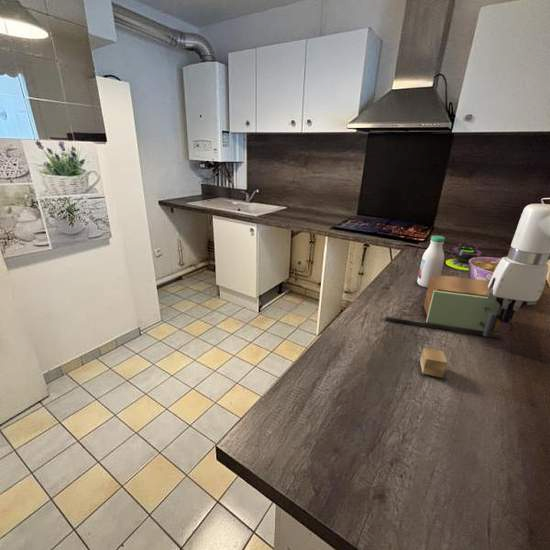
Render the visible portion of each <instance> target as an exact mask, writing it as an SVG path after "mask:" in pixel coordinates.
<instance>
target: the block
mask: <svg viewBox="0 0 550 550" xmlns="http://www.w3.org/2000/svg"><path fill="white" fill-rule="evenodd" d="M419 363H420V369H421V374H422V375H427V376H432V377H437V378H444V376H445V373H446V369H447V365H448V361H447V357H446V355H445V352H444V350H438V349H433V348H427V347H423V349H422V352H421V357H420V360H419Z"/></svg>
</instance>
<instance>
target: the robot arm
mask: <svg viewBox="0 0 550 550" xmlns="http://www.w3.org/2000/svg"><path fill="white" fill-rule="evenodd" d="M549 260H550V203H549V204H548V203H530V204H527V205H526V206H525V207H524V208H523V210H522V213H521V214H520V218H519V221H518V224H517V227H516V230H515V233H514V235H513V238H512V241H511V244H510V246H509V249H508V252H507V255H506V256H503V257H501V260H500V262H499V263H498V265H497V267H496V269H495V271H494V273H493V275H492V277H491V279H490V282H489V285H488V289H489V292H488V293H487V295H486V296H487V297H488V298H489V299H491V300H494V301H497V302H498V303H499V304H500V306H499V309H498V312H497V317H498V319H499V320H500V323H505V324H510V322H511V320H513V317H514V315H515V313H516V311H517V312H518V310H519V309H520V308H522V307H525V306H535V305H537V304H538V300H539V299H540V298H541V296H542V293H543V291H544V289H545V286H546V285H545V284H546V281H547V277H548V270H549V264H548V262H549Z"/></svg>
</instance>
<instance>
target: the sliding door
mask: <svg viewBox="0 0 550 550" xmlns="http://www.w3.org/2000/svg"><path fill="white" fill-rule="evenodd" d="M499 306H500V304H499V303H498V302H497V301H494V300H491V299H489V298H488V297H484V296H476V295H467V294H459V293H451V292H443V291H435V290H434V291H433V295H432V299H431V303H430V308H429V312H428V316H427V315H426V319H425V320H426V321H425V322H427V323H434V324H440V325H447V326H453V327H460V328H467V329H473V330H480V331H484V332H483V335H484V336H483V335H482V336H483V337H485V338H490V334H491V331H492V329H493V326H494V323H495V320H496V317H497V312H498V309H499Z"/></svg>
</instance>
